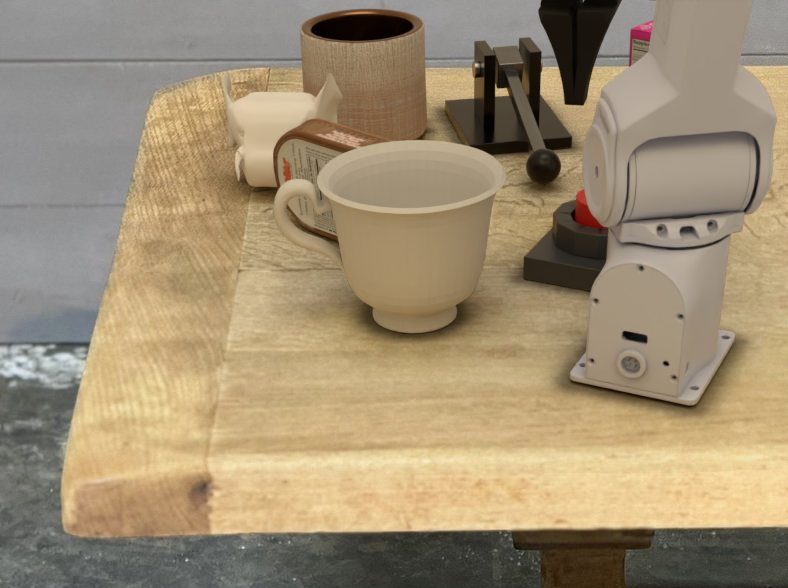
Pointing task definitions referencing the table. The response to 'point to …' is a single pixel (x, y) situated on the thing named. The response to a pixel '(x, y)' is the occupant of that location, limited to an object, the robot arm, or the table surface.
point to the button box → (568, 252)
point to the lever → (525, 115)
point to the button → (585, 212)
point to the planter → (370, 69)
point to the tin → (315, 164)
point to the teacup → (404, 225)
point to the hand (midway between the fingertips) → (575, 101)
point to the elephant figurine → (271, 124)
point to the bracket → (504, 106)
